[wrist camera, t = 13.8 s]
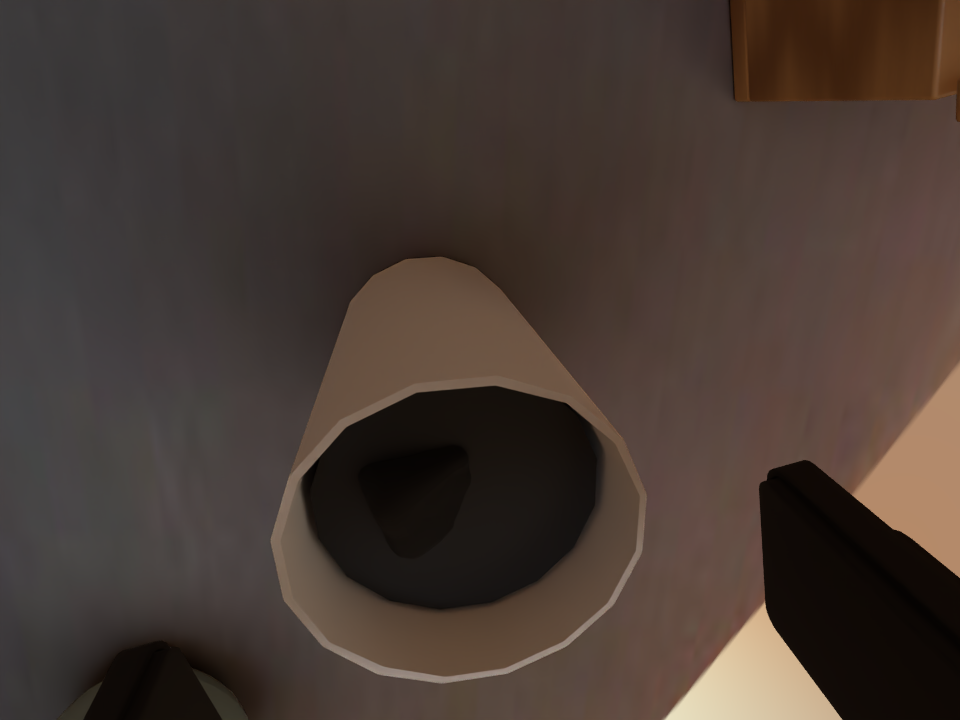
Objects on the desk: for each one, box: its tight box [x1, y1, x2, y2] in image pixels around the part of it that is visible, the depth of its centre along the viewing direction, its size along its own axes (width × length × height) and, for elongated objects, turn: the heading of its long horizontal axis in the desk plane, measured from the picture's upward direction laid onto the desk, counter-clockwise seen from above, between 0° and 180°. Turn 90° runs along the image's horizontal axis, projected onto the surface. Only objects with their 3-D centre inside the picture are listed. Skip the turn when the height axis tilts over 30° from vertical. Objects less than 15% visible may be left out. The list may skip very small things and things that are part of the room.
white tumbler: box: [270, 257, 647, 683], centre depth 15 cm, size 7×7×10 cm
